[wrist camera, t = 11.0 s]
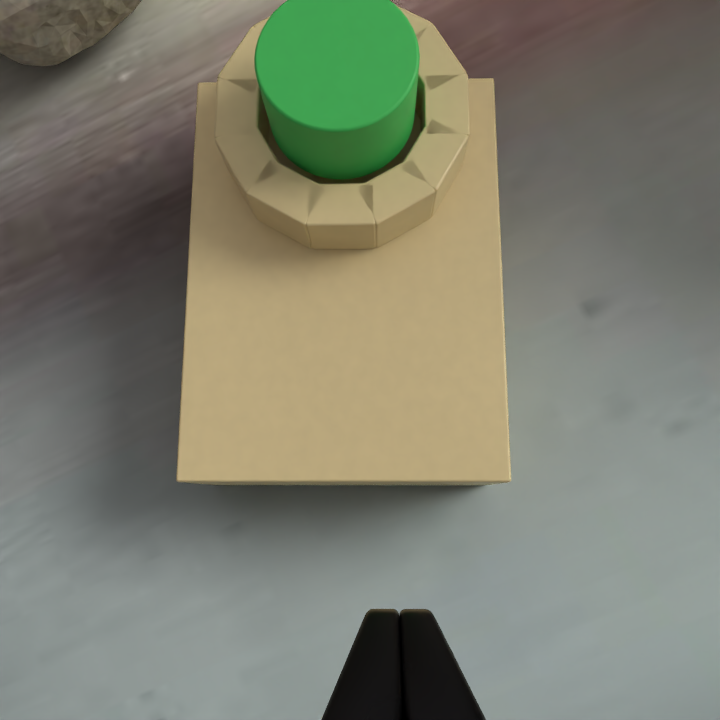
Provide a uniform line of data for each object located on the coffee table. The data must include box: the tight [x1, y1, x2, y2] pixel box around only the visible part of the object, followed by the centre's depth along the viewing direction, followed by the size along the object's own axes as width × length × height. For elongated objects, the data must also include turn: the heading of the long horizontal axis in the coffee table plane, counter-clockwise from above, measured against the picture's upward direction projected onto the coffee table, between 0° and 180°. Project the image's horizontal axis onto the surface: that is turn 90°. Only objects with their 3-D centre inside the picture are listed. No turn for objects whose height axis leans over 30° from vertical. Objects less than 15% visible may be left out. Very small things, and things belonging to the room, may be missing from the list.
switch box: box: [176, 5, 511, 485], centre depth 21 cm, size 13×9×6 cm
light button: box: [254, 0, 420, 180], centre depth 18 cm, size 4×4×2 cm
